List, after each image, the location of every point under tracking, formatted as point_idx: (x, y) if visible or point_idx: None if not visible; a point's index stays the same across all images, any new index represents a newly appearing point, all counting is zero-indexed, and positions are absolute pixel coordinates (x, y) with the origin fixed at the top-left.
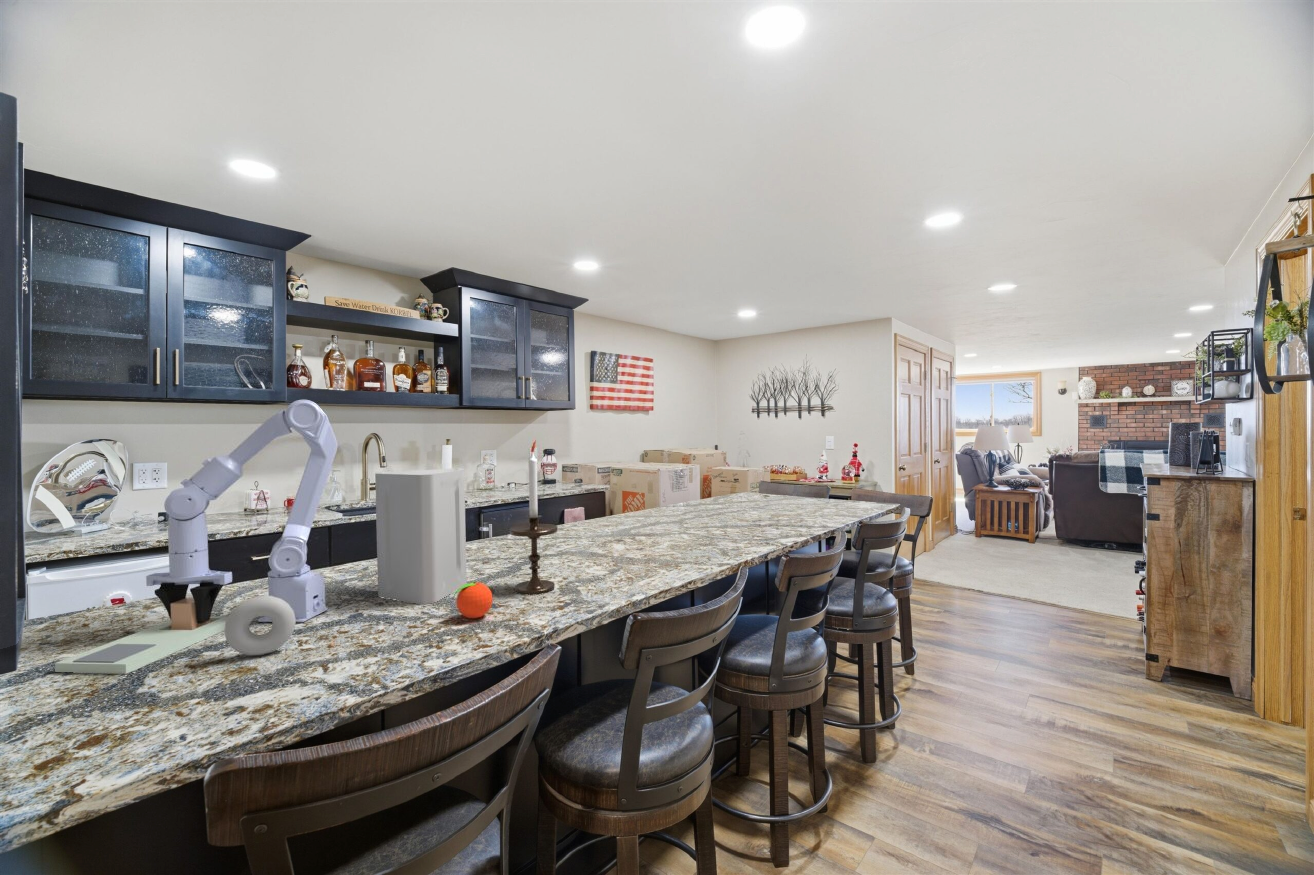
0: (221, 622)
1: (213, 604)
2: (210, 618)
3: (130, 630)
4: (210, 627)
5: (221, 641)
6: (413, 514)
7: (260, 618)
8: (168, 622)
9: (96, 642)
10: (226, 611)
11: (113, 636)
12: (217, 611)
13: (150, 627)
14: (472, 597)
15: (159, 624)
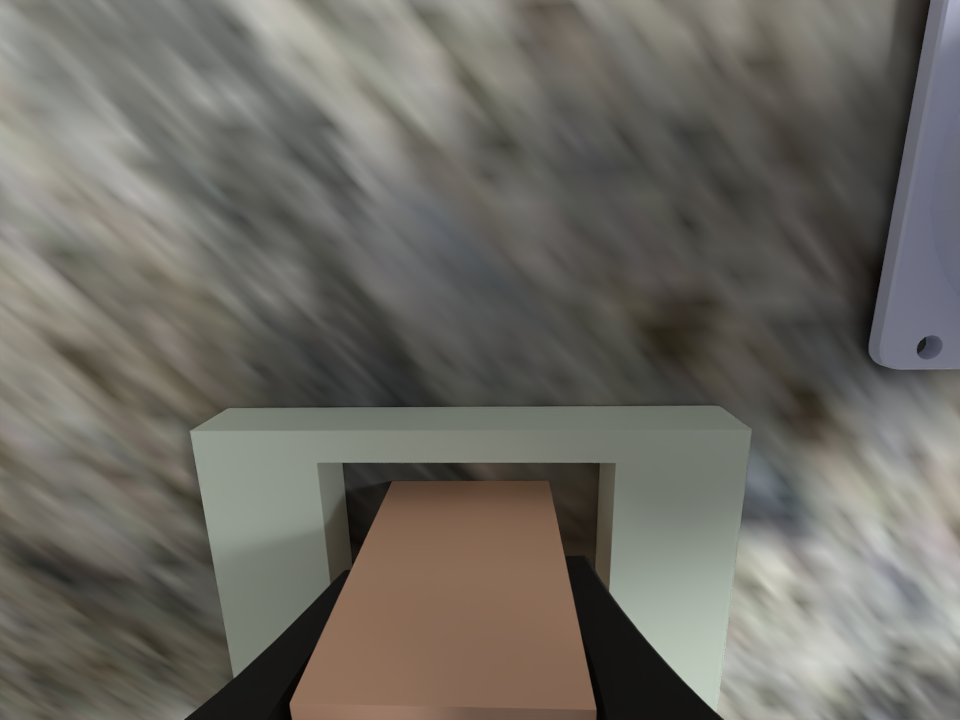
0: (706, 562)
1: (651, 648)
2: (509, 460)
3: (16, 535)
4: (704, 661)
5: (834, 694)
6: None
7: (891, 336)
8: (253, 567)
9: (59, 708)
10: (317, 65)
11: (39, 628)
12: (226, 71)
13: (234, 663)
14: None
15: (231, 608)
